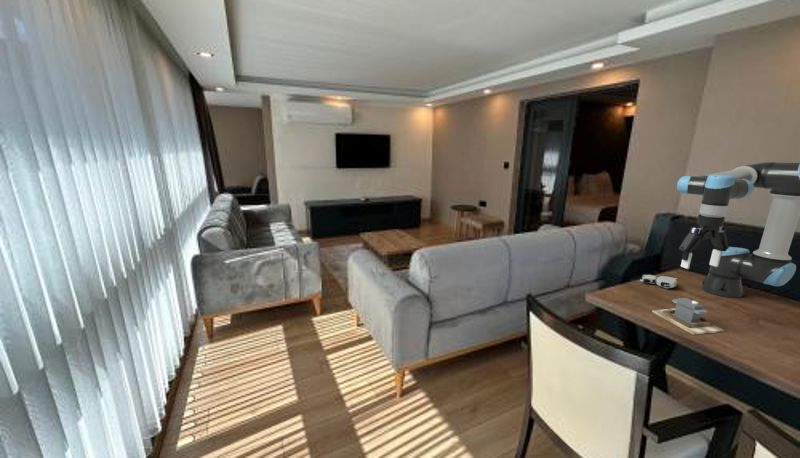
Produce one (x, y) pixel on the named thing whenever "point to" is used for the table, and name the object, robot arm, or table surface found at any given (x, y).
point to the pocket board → (693, 328)
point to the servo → (688, 310)
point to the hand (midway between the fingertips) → (699, 266)
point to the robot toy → (660, 281)
